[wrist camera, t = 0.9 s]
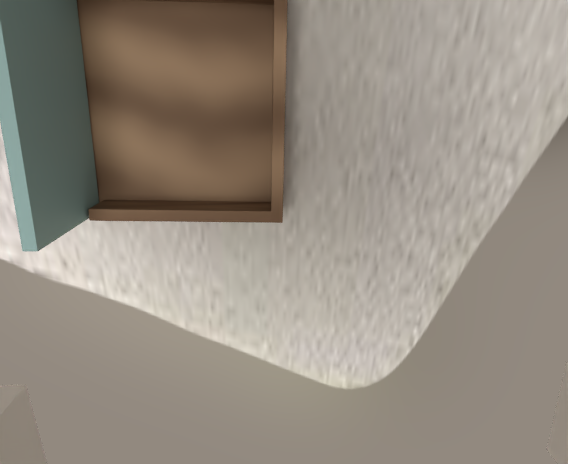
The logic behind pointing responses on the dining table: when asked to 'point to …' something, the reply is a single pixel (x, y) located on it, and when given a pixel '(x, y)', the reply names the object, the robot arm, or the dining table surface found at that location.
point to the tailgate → (45, 118)
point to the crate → (186, 108)
